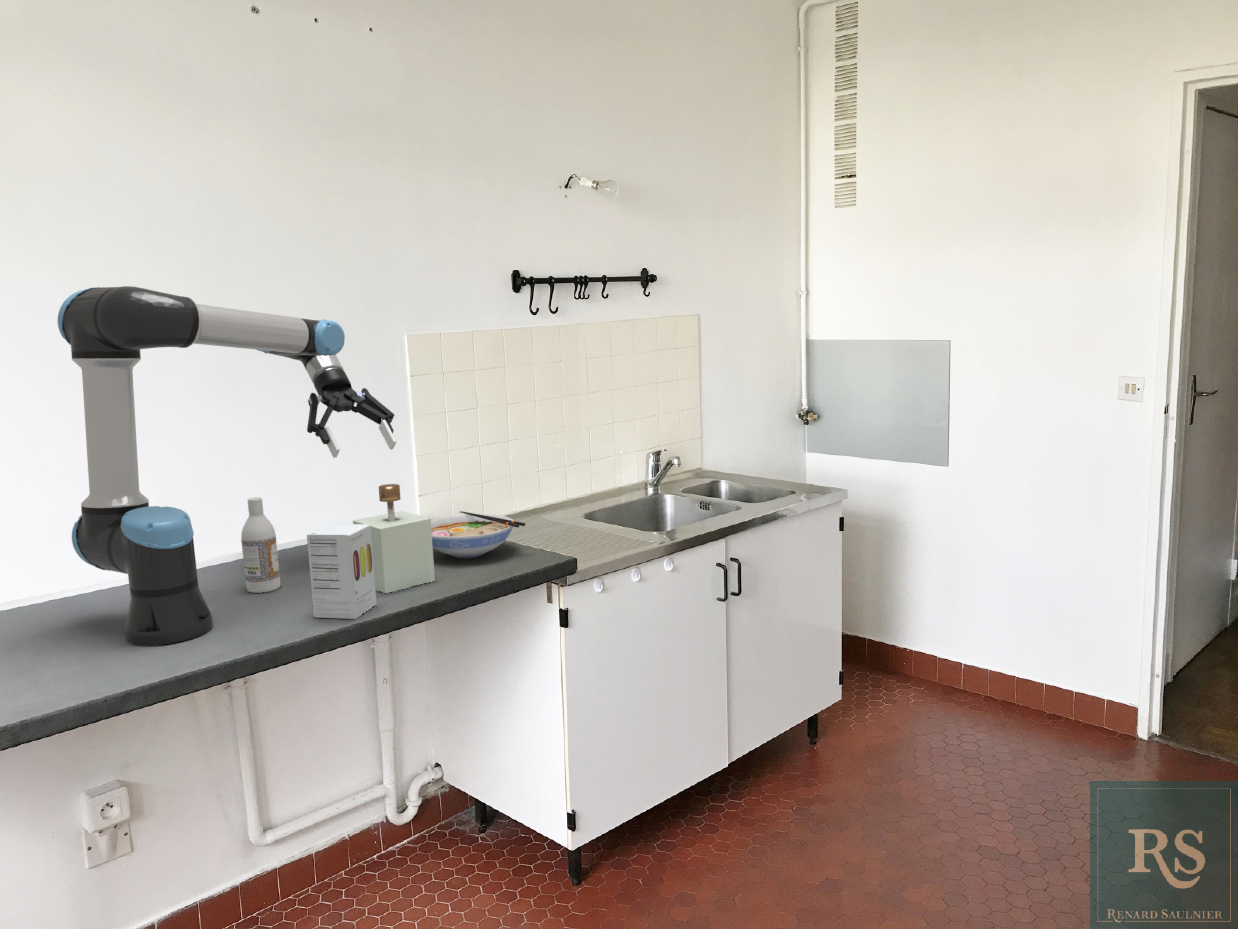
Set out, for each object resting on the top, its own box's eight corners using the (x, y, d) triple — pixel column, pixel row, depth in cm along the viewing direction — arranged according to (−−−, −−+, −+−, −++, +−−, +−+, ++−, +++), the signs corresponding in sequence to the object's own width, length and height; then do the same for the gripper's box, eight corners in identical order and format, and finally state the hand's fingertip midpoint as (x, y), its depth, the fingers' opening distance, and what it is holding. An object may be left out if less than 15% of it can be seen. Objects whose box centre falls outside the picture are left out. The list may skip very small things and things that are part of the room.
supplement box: (356, 620, 187) (349, 535, 184) (312, 618, 189) (304, 534, 186) (378, 604, 196) (371, 523, 193) (336, 603, 198) (329, 522, 195)
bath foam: (275, 593, 206) (265, 501, 203) (242, 594, 206) (232, 502, 203) (284, 583, 213) (276, 494, 210) (253, 584, 213) (243, 495, 210)
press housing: (385, 594, 203) (380, 529, 200) (358, 583, 212) (352, 520, 209) (434, 581, 211) (430, 518, 208) (406, 571, 219) (402, 510, 217)
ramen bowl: (399, 555, 234) (397, 522, 232) (478, 537, 249) (477, 505, 247) (456, 575, 215) (454, 539, 214) (538, 554, 230) (536, 520, 229)
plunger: (387, 579, 204) (380, 492, 201) (366, 570, 211) (359, 486, 208) (425, 569, 210) (419, 485, 207) (403, 562, 217) (397, 480, 214)
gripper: (374, 384, 231) (410, 452, 223) (271, 394, 215) (307, 468, 206) (383, 363, 226) (421, 431, 218) (279, 371, 210) (316, 445, 202)
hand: (365, 449), depth 212 cm, fingers open, 13 cm apart
